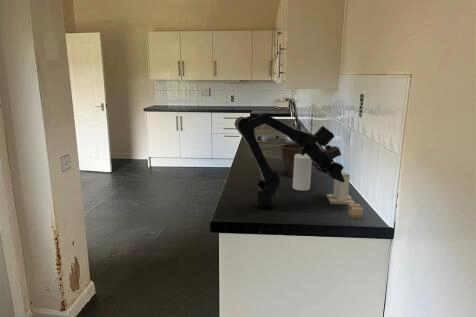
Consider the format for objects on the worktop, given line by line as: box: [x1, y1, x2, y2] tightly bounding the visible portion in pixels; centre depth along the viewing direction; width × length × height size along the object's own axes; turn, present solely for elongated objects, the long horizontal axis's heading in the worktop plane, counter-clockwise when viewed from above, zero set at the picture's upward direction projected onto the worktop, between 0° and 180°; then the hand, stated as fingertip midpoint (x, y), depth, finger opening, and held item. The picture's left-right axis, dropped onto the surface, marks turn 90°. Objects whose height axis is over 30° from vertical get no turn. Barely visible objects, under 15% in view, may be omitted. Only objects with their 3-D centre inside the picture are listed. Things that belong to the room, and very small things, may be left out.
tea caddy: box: [332, 170, 351, 201], centre depth 153 cm, size 4×6×11 cm
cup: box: [292, 154, 313, 192], centre depth 169 cm, size 8×8×16 cm
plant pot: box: [280, 143, 306, 177], centre depth 192 cm, size 15×15×16 cm
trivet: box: [326, 193, 356, 205], centre depth 154 cm, size 10×10×1 cm
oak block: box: [347, 203, 364, 220], centre depth 137 cm, size 6×4×4 cm, turn 176°
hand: (338, 178), depth 152 cm, fingers open, 9 cm apart
